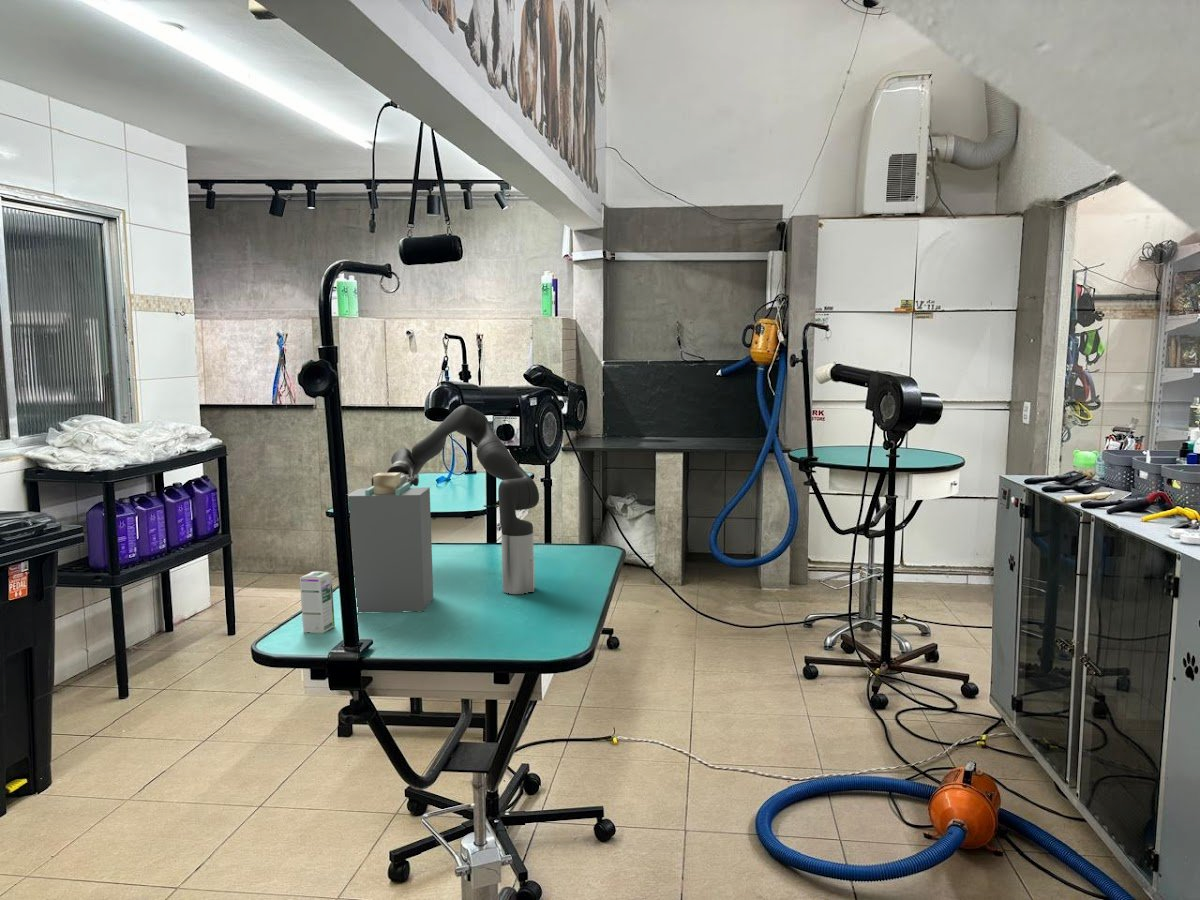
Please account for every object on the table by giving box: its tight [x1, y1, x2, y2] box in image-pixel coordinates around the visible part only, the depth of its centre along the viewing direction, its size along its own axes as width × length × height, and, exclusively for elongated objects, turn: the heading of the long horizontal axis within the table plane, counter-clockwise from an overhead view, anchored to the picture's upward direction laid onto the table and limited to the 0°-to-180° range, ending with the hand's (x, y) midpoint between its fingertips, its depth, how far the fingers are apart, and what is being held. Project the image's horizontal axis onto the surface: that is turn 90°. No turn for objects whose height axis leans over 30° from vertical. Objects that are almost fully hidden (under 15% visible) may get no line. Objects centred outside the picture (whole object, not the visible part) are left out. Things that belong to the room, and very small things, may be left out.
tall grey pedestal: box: [347, 482, 434, 614], centre depth 234 cm, size 20×14×34 cm
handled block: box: [372, 472, 406, 494], centre depth 239 cm, size 6×20×5 cm, turn 1°
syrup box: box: [299, 570, 336, 634], centre depth 214 cm, size 6×6×14 cm
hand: (392, 485), depth 261 cm, fingers open, 8 cm apart
